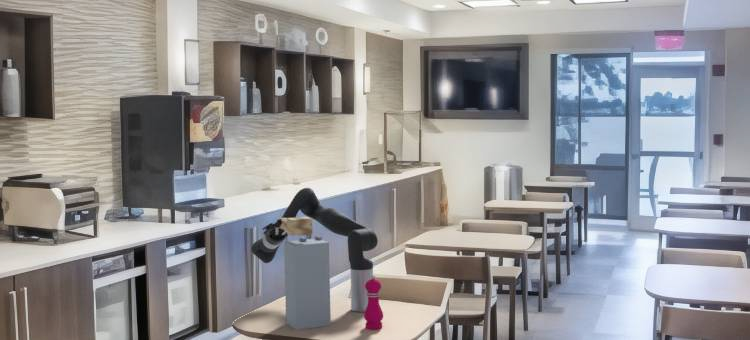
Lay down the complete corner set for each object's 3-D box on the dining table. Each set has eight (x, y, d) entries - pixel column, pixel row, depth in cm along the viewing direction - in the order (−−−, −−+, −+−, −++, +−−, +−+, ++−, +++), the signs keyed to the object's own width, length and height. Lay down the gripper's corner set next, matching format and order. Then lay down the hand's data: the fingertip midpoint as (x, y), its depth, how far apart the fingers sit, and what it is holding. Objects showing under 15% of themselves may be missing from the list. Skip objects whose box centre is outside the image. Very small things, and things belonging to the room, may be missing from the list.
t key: (290, 226, 328) (290, 211, 328) (312, 234, 307) (312, 218, 306) (271, 227, 325) (270, 212, 324) (292, 236, 303) (292, 220, 303)
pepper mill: (381, 330, 304) (380, 277, 302) (362, 329, 305) (361, 276, 304) (385, 325, 311) (384, 273, 310) (366, 324, 312) (365, 273, 311)
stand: (319, 318, 322) (317, 235, 320) (330, 325, 312) (328, 239, 310) (286, 323, 316) (283, 238, 314) (296, 330, 306) (294, 242, 304)
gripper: (291, 243, 337) (304, 228, 323) (258, 247, 330) (270, 230, 316) (288, 227, 340) (300, 210, 325) (255, 229, 333) (266, 213, 319)
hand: (285, 220), depth 321 cm, fingers closed on t key, 3 cm apart
